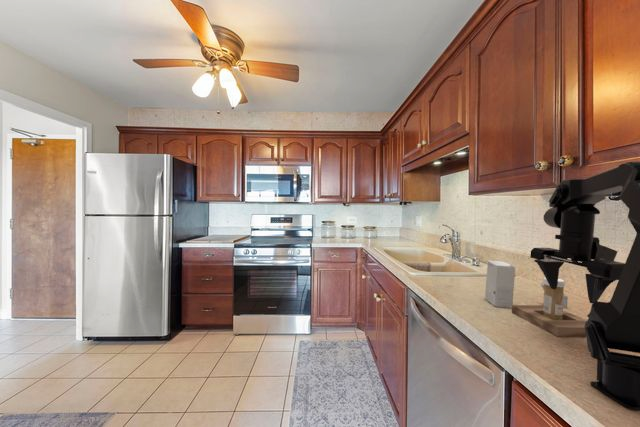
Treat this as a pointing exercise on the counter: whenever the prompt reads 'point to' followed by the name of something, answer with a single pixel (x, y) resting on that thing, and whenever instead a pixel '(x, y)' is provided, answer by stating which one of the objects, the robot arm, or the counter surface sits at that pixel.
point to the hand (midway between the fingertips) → (571, 295)
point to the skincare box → (500, 284)
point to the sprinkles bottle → (553, 300)
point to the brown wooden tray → (552, 321)
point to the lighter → (563, 297)
